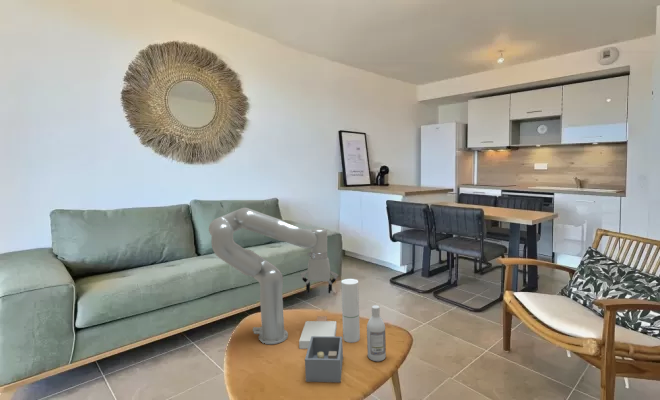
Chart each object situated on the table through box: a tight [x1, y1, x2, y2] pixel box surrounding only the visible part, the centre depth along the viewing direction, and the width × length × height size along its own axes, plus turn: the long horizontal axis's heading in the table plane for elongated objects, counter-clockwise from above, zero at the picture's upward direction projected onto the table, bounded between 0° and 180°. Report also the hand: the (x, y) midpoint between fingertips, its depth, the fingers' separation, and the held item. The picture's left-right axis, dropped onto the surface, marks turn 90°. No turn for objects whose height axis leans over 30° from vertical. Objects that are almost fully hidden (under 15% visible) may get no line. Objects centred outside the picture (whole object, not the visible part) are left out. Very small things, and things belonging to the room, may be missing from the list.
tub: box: [304, 336, 344, 383], centre depth 124 cm, size 16×12×8 cm
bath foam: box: [366, 304, 387, 362], centre depth 129 cm, size 7×7×20 cm
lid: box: [298, 315, 338, 350], centre depth 149 cm, size 23×14×3 cm, turn 175°
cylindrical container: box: [340, 278, 361, 344], centre depth 144 cm, size 7×7×25 cm
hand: (319, 291), depth 156 cm, fingers open, 9 cm apart
